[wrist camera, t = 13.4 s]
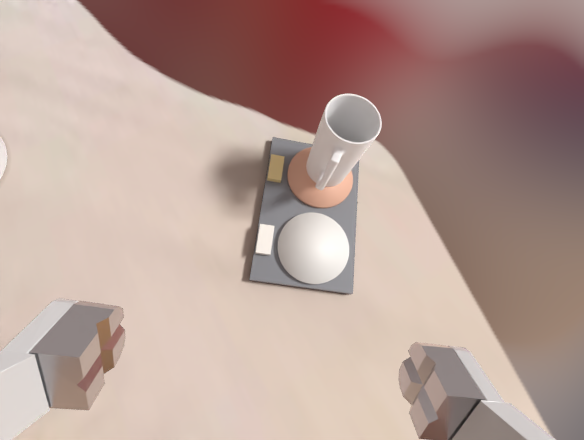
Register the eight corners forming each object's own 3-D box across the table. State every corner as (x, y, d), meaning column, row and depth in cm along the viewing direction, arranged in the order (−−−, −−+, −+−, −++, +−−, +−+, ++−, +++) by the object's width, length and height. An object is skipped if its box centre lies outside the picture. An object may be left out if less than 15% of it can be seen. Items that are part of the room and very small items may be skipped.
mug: (314, 142, 46) (336, 84, 34) (353, 160, 46) (388, 108, 35) (288, 195, 42) (304, 151, 31) (331, 215, 42) (362, 177, 31)
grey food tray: (249, 280, 39) (249, 278, 38) (272, 140, 47) (273, 134, 45) (350, 294, 41) (354, 293, 39) (357, 156, 48) (361, 150, 46)
